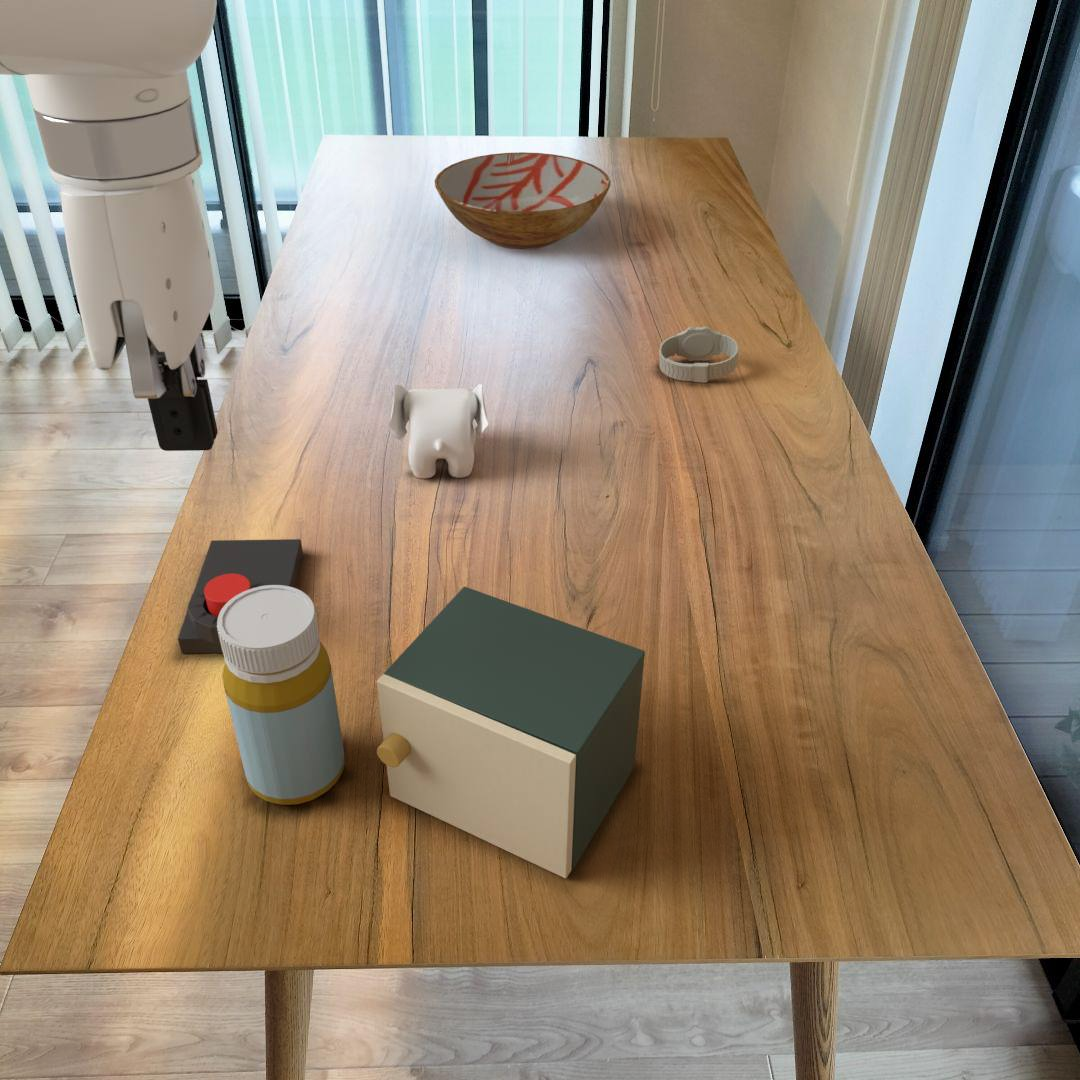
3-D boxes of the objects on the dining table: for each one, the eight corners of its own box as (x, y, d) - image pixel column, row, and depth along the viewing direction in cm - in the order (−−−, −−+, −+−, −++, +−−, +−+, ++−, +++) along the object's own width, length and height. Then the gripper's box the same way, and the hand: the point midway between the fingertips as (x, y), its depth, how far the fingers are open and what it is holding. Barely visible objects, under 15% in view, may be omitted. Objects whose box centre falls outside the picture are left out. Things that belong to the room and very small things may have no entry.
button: (249, 618, 86) (245, 601, 85) (203, 619, 86) (199, 602, 85) (256, 589, 89) (253, 573, 88) (212, 590, 89) (209, 573, 88)
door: (555, 895, 69) (559, 779, 63) (377, 810, 75) (362, 694, 68) (571, 870, 71) (576, 754, 64) (396, 788, 76) (383, 673, 69)
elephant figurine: (489, 427, 116) (487, 353, 110) (489, 491, 106) (487, 413, 101) (399, 429, 115) (393, 354, 110) (392, 493, 106) (385, 415, 100)
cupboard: (572, 870, 71) (577, 752, 64) (396, 790, 76) (383, 673, 69) (634, 767, 78) (645, 650, 71) (469, 701, 84) (464, 585, 76)
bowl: (628, 261, 151) (631, 205, 146) (450, 275, 147) (448, 218, 142) (584, 198, 171) (586, 147, 166) (426, 209, 166) (423, 157, 162)
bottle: (314, 721, 82) (287, 566, 73) (364, 777, 77) (342, 620, 68) (230, 766, 78) (190, 609, 69) (277, 827, 74) (241, 669, 65)
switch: (279, 658, 87) (273, 626, 85) (179, 660, 87) (170, 628, 85) (303, 553, 98) (298, 522, 96) (214, 555, 98) (207, 523, 96)
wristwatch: (735, 361, 128) (740, 322, 125) (737, 387, 123) (742, 347, 120) (657, 357, 129) (660, 318, 126) (657, 383, 124) (660, 343, 121)
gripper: (90, 96, 61) (158, 384, 72) (-8, 189, 49) (91, 516, 60) (225, 96, 61) (271, 383, 72) (160, 188, 49) (227, 514, 60)
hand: (189, 443), depth 66 cm, fingers closed
